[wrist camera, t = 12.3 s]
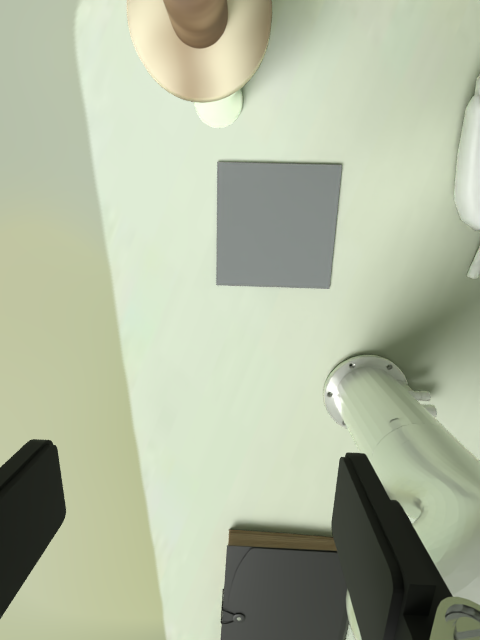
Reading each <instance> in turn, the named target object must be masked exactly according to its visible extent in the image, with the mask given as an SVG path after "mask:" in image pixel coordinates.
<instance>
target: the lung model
mask: <svg viewBox="0 0 480 640" xmlns="http://www.w3.org/2000/svg"><path fill="white" fill-rule="evenodd" d="M454 201H455V204H456V208H457V211H458V214H459V217H460V220H462V221H463V222H464V223H466V224H467V225H468V226H470V227H471V228H472V229H474V230H475V231H479V230H480V74H479V76H478V77H477V79H476V87H475V95H474V96H472V98H471V100H470V102H469V103H468V105H467V107H466V111H465V116H464V121H463V127H462V132H461V137H460V142H459V148H458V153H457V163H456V176H455V189H454ZM479 274H480V247H479V248H478V251H477V253H476V255H475V258H474V260H473V262H472V264H471V266H470V269H469V271H468V274H467V277H470V278H474V279H477V278H478V276H479Z"/></svg>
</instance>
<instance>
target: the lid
mask: <svg viewBox="0 0 480 640" xmlns="http://www.w3.org/2000/svg"><path fill="white" fill-rule="evenodd" d="M127 19H128V26H129V31H130V35H131V39H132V42H133V45H134V47H135V49H136V52H137V54H138V56H139V58H140V59H141V61H142V63H143V64H144V66H145V67H146V69H147V71H148V72H149V74H150V75H151V76H152V77H153V79H154V80H155V81H156V82H157V83H158V84H159V85H160V86H161V87H162V88H164V89H165V90H166V91H168V92H169V93H171V94H173V95H174V96H176V97H179V98H181V99H184V100H187V101H191V102H199V103H206V102H214V101H218V100H221V99H224V98H226V97H228V96H230V95H232V94H234V93H236V92H237V91H238V90H239V89H241V88H242V87H243V86H244V85H245V84H246V83H247V82H248V81H249V80H250V79H251V78H252V76H253V75H254V74H255V72H256V71H257V69H258V67H259V66H260V64H261V62H262V60H263V57H264V55H265V52H266V49H267V46H268V42H269V37H270V29H271V19H272V1H271V0H127Z"/></svg>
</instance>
